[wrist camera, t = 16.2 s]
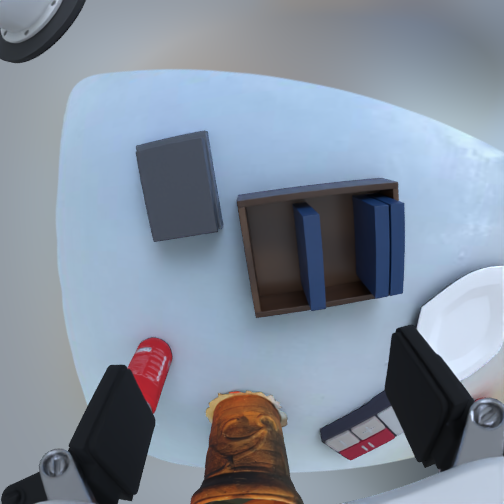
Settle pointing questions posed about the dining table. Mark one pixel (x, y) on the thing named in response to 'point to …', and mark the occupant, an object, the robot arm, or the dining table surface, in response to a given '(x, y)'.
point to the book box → (285, 243)
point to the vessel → (246, 453)
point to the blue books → (379, 243)
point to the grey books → (179, 186)
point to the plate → (466, 320)
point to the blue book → (310, 254)
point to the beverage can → (151, 368)
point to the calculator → (363, 429)
